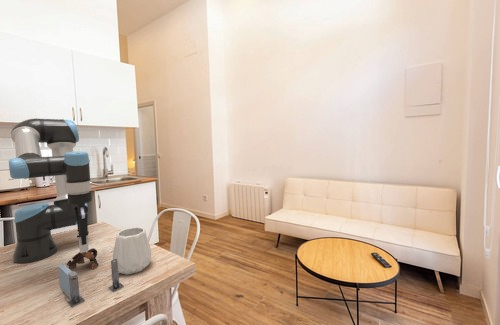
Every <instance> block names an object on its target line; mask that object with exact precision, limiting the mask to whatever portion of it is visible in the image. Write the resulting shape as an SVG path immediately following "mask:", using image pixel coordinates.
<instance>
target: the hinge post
mask: <svg viewBox="0 0 500 325" xmlns="http://www.w3.org/2000/svg"><path fill="white" fill-rule="evenodd" d="M70 283H71V293H72V299H70V300H68V301H67V304H68V305H69V307H71V308H73V307H75V306H77V305H80V304H81V303H84V302H85V298H83V297H82V295H81V294H80V285H79V276H78V277H76V278H73V279H70Z"/></svg>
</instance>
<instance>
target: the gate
mask: <svg viewBox="0 0 500 325" xmlns="http://www.w3.org/2000/svg"><path fill="white" fill-rule="evenodd" d="M68 267H69V266H66V264H65V263H64V264H59V265H58V266H57V269H58V280H59V288H60V289H61V291H63V292H64V294H66V295H67V297H68V298H69V299H70V300H72V293H71V283H70V279H73V278H76V277H78V278H79V275H78V273H77V272H76V271H74V270H72V269H69V268H68Z"/></svg>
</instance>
